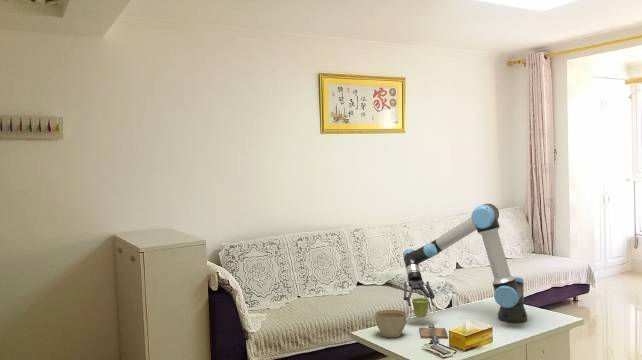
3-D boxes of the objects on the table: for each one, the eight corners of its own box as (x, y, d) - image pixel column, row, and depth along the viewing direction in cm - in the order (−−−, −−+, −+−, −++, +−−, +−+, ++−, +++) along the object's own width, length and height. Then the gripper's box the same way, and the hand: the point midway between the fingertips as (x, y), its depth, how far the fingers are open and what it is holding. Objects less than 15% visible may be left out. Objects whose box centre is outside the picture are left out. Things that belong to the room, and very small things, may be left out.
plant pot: (410, 314, 291) (409, 298, 291) (427, 313, 292) (426, 297, 292) (414, 319, 282) (413, 302, 282) (432, 317, 283) (431, 301, 282)
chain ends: (434, 327, 281) (434, 324, 281) (439, 344, 256) (439, 340, 256) (428, 327, 281) (428, 324, 281) (432, 344, 256) (432, 340, 256)
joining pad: (444, 330, 276) (444, 328, 276) (447, 338, 263) (447, 336, 263) (419, 330, 278) (419, 327, 278) (421, 338, 265) (421, 335, 265)
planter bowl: (409, 331, 277) (408, 310, 276) (405, 341, 261) (404, 319, 261) (378, 329, 281) (377, 308, 281) (372, 339, 265) (372, 317, 265)
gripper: (432, 277, 302) (441, 312, 287) (393, 279, 301) (400, 315, 286) (434, 269, 297) (443, 305, 282) (395, 271, 296) (402, 307, 280)
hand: (422, 310), depth 284 cm, fingers closed on plant pot, 9 cm apart
